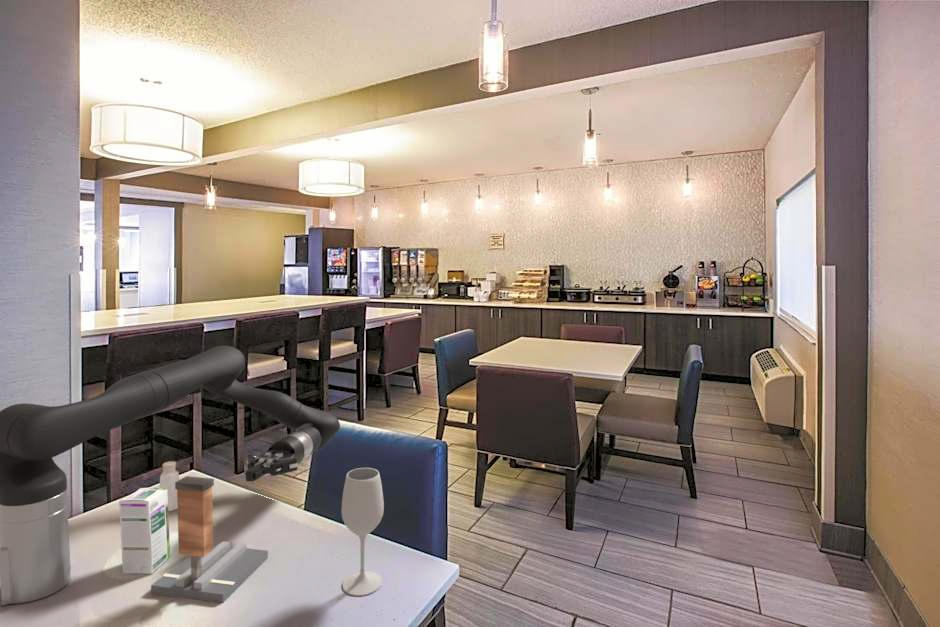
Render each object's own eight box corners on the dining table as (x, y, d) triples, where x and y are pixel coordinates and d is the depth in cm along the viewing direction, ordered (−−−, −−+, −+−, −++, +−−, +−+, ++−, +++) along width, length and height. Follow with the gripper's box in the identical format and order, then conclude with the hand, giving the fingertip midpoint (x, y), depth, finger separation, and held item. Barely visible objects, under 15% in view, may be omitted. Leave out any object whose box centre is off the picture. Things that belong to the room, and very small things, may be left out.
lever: (188, 573, 91) (186, 476, 90) (215, 576, 90) (213, 478, 89) (177, 582, 88) (175, 482, 87) (204, 586, 87) (203, 485, 86)
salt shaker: (180, 499, 124) (180, 457, 123) (185, 507, 120) (184, 463, 119) (155, 505, 121) (154, 461, 120) (158, 514, 116) (157, 468, 116)
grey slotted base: (204, 550, 102) (204, 537, 101) (267, 557, 100) (267, 544, 99) (151, 593, 88) (150, 578, 88) (223, 602, 86) (222, 587, 86)
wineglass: (389, 575, 95) (390, 468, 93) (371, 600, 87) (372, 485, 86) (354, 568, 97) (354, 463, 95) (333, 592, 89) (333, 479, 88)
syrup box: (151, 575, 93) (149, 500, 92) (120, 574, 93) (118, 499, 92) (170, 557, 99) (169, 487, 98) (141, 556, 99) (139, 486, 98)
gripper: (266, 433, 122) (220, 457, 105) (316, 437, 120) (278, 462, 103) (266, 463, 123) (220, 491, 105) (316, 467, 121) (278, 497, 103)
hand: (249, 476), depth 104 cm, fingers closed
